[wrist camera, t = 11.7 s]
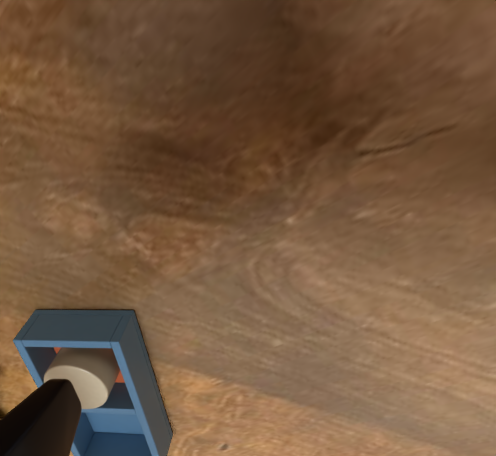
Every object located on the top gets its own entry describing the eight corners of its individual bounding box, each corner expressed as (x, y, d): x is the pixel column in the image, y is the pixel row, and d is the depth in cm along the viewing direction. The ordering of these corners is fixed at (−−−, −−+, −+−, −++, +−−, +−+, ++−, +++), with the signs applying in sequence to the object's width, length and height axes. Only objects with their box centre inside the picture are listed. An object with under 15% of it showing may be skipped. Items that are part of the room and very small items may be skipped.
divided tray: (134, 309, 25) (118, 342, 23) (173, 434, 31) (163, 468, 29) (35, 309, 26) (12, 340, 24) (92, 430, 32) (77, 463, 30)
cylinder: (114, 331, 25) (97, 366, 23) (130, 374, 27) (115, 411, 25) (55, 330, 26) (33, 365, 24) (74, 373, 28) (55, 408, 26)
